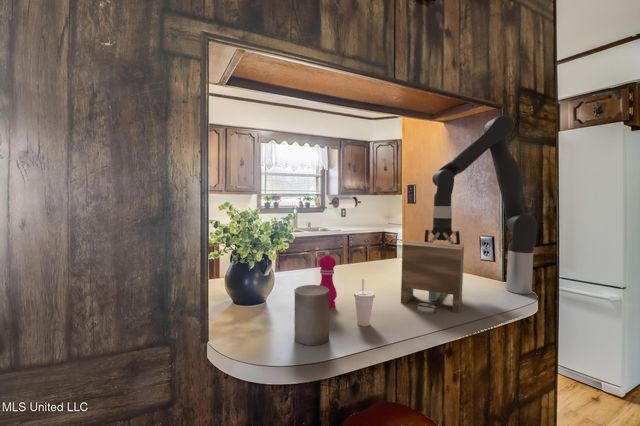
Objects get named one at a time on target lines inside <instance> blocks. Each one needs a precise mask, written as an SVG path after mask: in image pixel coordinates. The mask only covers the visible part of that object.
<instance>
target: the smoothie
mask: <svg viewBox="0 0 640 426" xmlns="http://www.w3.org/2000/svg"><path fill="white" fill-rule="evenodd" d="M364 288H365V279H364V278H362V279H361V290H360V289H359V290H355V291H354V293H353V297H354V302H355V310H356V320H357V325H358V326H360V327H368V326H370V324H371V317H372V310H373V302H374V298H376V297H375V295H376V294H375V293H374V291H370V290H365V289H364Z"/></svg>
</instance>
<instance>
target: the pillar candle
mask: <svg viewBox="0 0 640 426" xmlns="http://www.w3.org/2000/svg"><path fill="white" fill-rule="evenodd" d="M293 291H294V340H295V342H297V343H300V344H303V345H306V346H319V345H322V344H324V343H327V342H328V341H329V339H330V309H329V289H328V288H327V287H324V286H320V284H319V285H318V284H308V285H307V284H305V285H301V286H298V287H296V288H294V289H293Z"/></svg>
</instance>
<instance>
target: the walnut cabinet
mask: <svg viewBox="0 0 640 426" xmlns="http://www.w3.org/2000/svg"><path fill="white" fill-rule="evenodd" d="M401 251H402V253H401V255H402V256H401V282H400V283H401V284H400V303H401V304H404V305H407V304H408V302H409V301H410V300H411V299H412V298H413V296H414V290H419V291H423V292H425V291H426V292H429V291H431V292H438V293H441V294H445V295H452V313H460V309H461V308H462V307H461V306H462V304H463V285H464V284H463V283H464V282H463V281H464V280H463V277H464V260H465V259H464V258H465V257H464V256H465V255H464V254H465V245H464V244H460V245H457V244H450V243H443V242H433V243H432V242H424V241H418V240H409V241H407V242H404V243H403V244H402V250H401Z"/></svg>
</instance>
